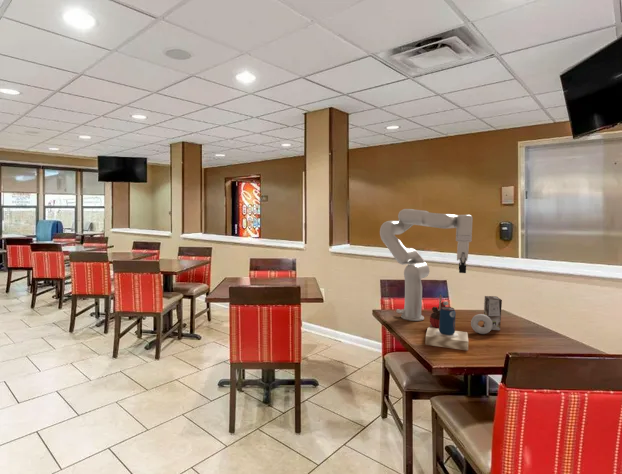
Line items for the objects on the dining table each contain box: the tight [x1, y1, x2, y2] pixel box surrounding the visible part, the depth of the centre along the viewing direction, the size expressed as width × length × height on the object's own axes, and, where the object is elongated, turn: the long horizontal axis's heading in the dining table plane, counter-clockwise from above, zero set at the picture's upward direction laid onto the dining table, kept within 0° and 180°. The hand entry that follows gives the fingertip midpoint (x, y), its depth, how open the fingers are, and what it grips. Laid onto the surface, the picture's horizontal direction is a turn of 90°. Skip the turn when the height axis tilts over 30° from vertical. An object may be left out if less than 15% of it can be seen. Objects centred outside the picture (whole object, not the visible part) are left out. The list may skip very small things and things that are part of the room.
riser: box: [424, 326, 469, 351], centre depth 170 cm, size 18×14×4 cm
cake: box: [429, 294, 449, 329], centre depth 190 cm, size 11×9×18 cm
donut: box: [470, 313, 493, 335], centre depth 184 cm, size 10×4×10 cm, turn 66°
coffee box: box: [483, 295, 503, 331], centre depth 195 cm, size 9×6×16 cm
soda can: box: [439, 306, 457, 336], centre depth 170 cm, size 7×7×12 cm
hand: (462, 271), depth 190 cm, fingers open, 9 cm apart
